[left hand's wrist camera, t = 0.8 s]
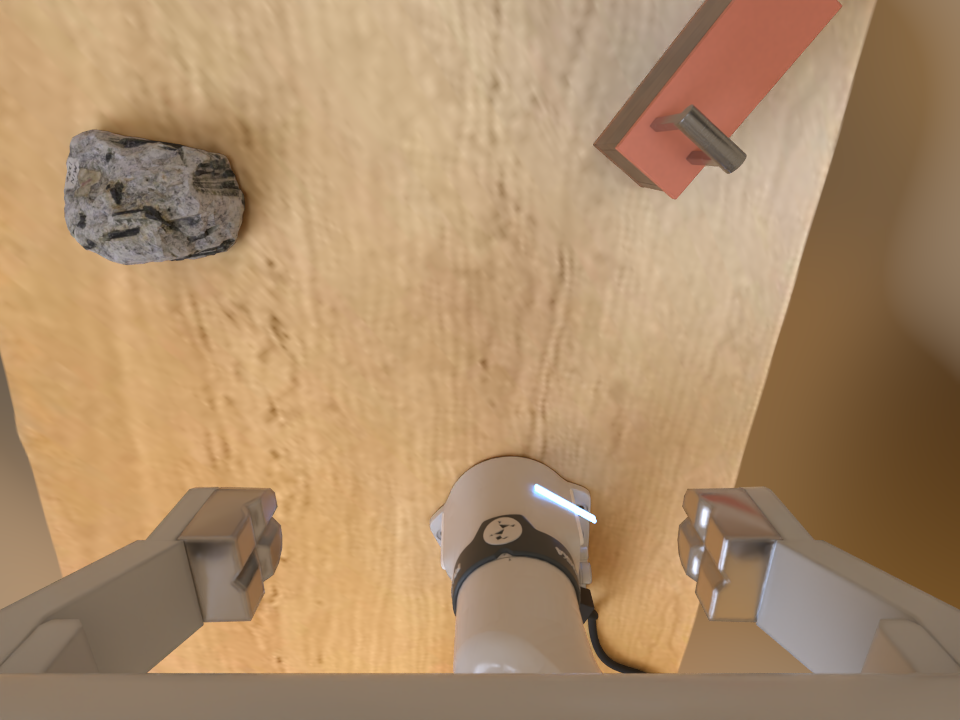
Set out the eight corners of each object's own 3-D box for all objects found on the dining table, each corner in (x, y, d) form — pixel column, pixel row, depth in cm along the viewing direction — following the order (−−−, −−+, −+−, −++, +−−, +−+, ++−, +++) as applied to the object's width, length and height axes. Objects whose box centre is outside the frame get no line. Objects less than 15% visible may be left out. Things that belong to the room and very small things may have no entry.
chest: (640, 186, 50) (675, 194, 41) (592, 144, 48) (617, 143, 40) (765, 37, 45) (834, 9, 36) (716, -14, 44) (775, -55, 35)
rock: (247, 153, 48) (207, 152, 42) (247, 265, 52) (211, 280, 45) (81, 126, 48) (14, 121, 41) (93, 241, 52) (33, 253, 45)
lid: (672, 198, 41) (715, 209, 33) (614, 148, 40) (645, 147, 32) (834, 9, 36) (927, -28, 29) (775, -55, 35) (856, -112, 28)
